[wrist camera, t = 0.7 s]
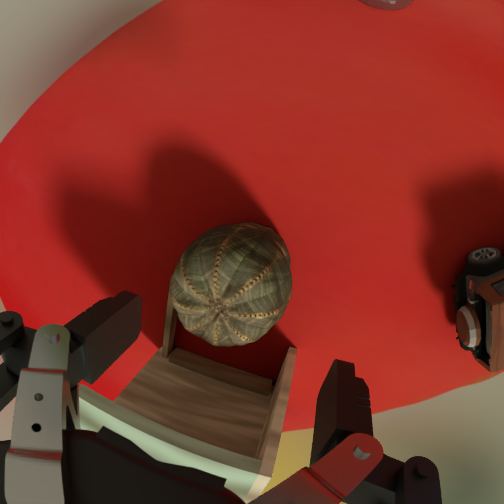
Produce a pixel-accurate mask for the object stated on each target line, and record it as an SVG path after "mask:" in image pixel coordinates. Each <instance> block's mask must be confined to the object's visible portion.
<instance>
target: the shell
mask: <svg viewBox="0 0 504 504" xmlns="http://www.w3.org/2000/svg"><path fill="white" fill-rule="evenodd" d="M290 263H291V260H290V255H289V252H288V249H287V247H286V245H285V243H284V241H283V239H282V238H281V237H279V236H278V235H277V234H276V233H275V232H274V230H273V229H272V228H270V227H269V226H267V227H265V226H262V225H260V224H258V223H255V222H248V223H238V224H234V225H221V226H217V227H215V228H213V229H210V230H208V231H206V232H205V233H203V234H202V235H201V236H200V237H198V238H197V239H196V240H195V241H194V242H193V243H191V244H190V245H189V246H188V247H187V249H186V250H185V251H184V253H183V254H182V255H181V257H180V259H179V261H178V264H177V266H176V267H175V270H174V273H173V275H172V278H171V288H170V291H169V294H170V297H171V300H172V304H173V307H174V308H175V309H176V310H177V314H178V317H179V319H180V321H181V323H182V324H183V326H184V328H185V329H186V330H187V331H189V332H190V333H192V334H193V335H195V336H198V337H201V338H202V339H204V340H205V341H206V342H208V343H209V344H211V345H213V346H235V345H246V344H248V343H251V342H254V341H257V340H258V339H260V337H261V336H262V335H264V334H266V333H267V332H268V331H269V330H270V328H271V327H272V326H273V325H274V324H276V323H277V321H278V320H279V319H280V318H281V317H282V315H283V313H284V311H285V309H286V307H287V304H288V302H289V300H290V298H291V291H292V275H291V270H290Z"/></svg>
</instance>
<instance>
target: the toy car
mask: <svg viewBox="0 0 504 504" xmlns="http://www.w3.org/2000/svg"><path fill="white" fill-rule="evenodd" d="M467 258H468V264H466V267H465V271H464V272H462V273H460V274H459V275H458V276H457V278H456V280H455V284H454V285H451V286H452V287H455V295H454V304H455V318H456V332H457V333H458V337H457V338H456V339H459V342H460V346H461V347H462V348H463V349H464V350H470V351H471V352H472V355H473V357H474V358H475V360H477V362H478V363H480V364H481V365H482V366H483V367H485V368H486V369H487V370H488V371H490V372H497V371H499V370H502V369H504V256H503V257H502V258H501V252H500V249H497V248H495V247H484V248H480V249H477V250H475V251H472V252H470V253H469V255H468V257H467ZM452 287H451V288H452Z"/></svg>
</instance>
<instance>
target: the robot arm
mask: <svg viewBox="0 0 504 504" xmlns="http://www.w3.org/2000/svg"><path fill="white" fill-rule="evenodd" d="M360 1H362V2H364V3H366V4H368V5H370V6H373V7H376V8H381V9H389V10H393V9H400V8H404V7H406V6H407V5H409V4H410V3H411V2H412V1H413V0H360ZM141 313H142V298H141V297H140V296H138V295H136V294H133V293H131V292H128V291H126V290H124V291H122V292H121V293H119V294H118V295H116V296H115V297H114V298H112V297H109V298H106V299H102V300H100V301H98V302H97V303H95V304H94V305H92V307H89V308H88V309H87V310H86V311H85V312H82V313H81V314H80V315H78V316H77V317H75V318H74V319H72V320H71V321H70V322H68V323H67V324H66V325H64V326H61V325H58V324H48V325H45V326H42V327H41V328H39V329H38V330H35V329H32V328H29V327H25V326H24V324H23V319H22V316H21V315H20V314H19V313H17V312H14V311H5V312H1V313H0V355H2V358H3V361H4V362H3V363H2V364H1V365H0V411H1V410H2V409H3V408H4V407H5V406H6V405H7V404H8V403H9V402H10V401H11V400H12V399H13V398H14V397H15V396H16V401H15V409H14V416H13V425H12V436H11V440H6V441H0V504H246V503H245V502H244V501H243V500H242V499H241V498H240V497H239V496H238V495H237V494H235V493H234V492H232V491H231V490H229V489H227V488H226V487H224V485H225V482H226V480H227V479H226V478H223V477H220V476H216V475H213V474H211V473H208V472H205V471H202V470H199V469H196V468H193V467H187V466H181V465H176V464H171V463H166V462H161V461H158V460H156V459H154V458H153V457H151V456H150V455H149V454H148V453H146V452H145V451H144V450H142V449H141V448H140V447H138V446H137V445H136V444H135V443H133V442H132V441H131V440H129V439H127V438H125V437H123V436H122V435H120V434H118V433H116V432H114V431H112V430H110V429H108V428H107V427H105V426H102V428H101V429H100V430H99V431H98V432H95V431H90V430H83V429H81V427H80V414H79V385H78V383H79V382H80V381H81V380H82V379H83V380H84V381H86V382H88V383H89V384H91V385H92V384H93V383H94V382H95V381H96V380H97V379H98V378H99V377H100V376H101V375H102V374H103V373H104V372H105V371H106V370H107V369H108V368H109V367H110V366H111V365H112V364H113V363H114V362H115V361H116V360H117V359H118V358H119V357H120V356H121V355H122V354H123V353H124V352H125V351H126V350H127V349H128V348H129V347H130V346H131V345H132V344H133V343H134V342H135V341H136V339H137V338H138V336H139V333H140V330H141ZM369 399H370V396H369V388H368V386H367V385H366V383H365V381H364V380H363V379H362V378H358V377H355V367H354V363H350V362H346V361H342V360H338V359H335V360H334V362H333V363H332V366H331V368H330V370H329V372H328V374H327V376H326V378H325V380H324V382H323V384H322V386H321V389H320V391H319V395H318V398H317V405H316V416H315V425H314V434H313V443H312V451H311V459H310V467H309V468H308V467H304V468H302V469H301V470H299V471H297V472H296V473H295V474H293V475H292V476H290V477H289V478H287V479H286V480H284V481H283V482H281V483H280V484H278V485H277V486H275V487H274V488H272V489H270V490H269V491H268V492H266V493H264V494H263V495H261V496H259V497H257V498H256V499H254V500H252V501H251V502H249V503H247V504H339V503H340V502H341V501H342V502H345V503H347V504H442V499H441V489H440V480H439V473H438V469H437V467H436V466H435V464H434V463H433V462H432V461H431V460H429V459H427V458H425V457H422V456H415V457H411V458H410V459H408V460H407V461H406V462H405V463H404V462H401V461H399V460H396V459H394V458H391V457H389V456H387V455H385V454H384V453H383V448H382V446H381V444H380V442H379V441H378V440H377V439H375V438H374V437H373V427H372V415H371V408H370V406H371V405H370V400H369Z"/></svg>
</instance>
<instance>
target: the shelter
mask: <svg viewBox="0 0 504 504" xmlns="http://www.w3.org/2000/svg"><path fill="white" fill-rule="evenodd" d="M172 275H173V274H172ZM172 275H171V278H172ZM170 288H171V280H170V287H169V291H170ZM177 315H178V314H177V310H176V309H175V308H174V307H173V304H172V300H171V297H170V294H169V295H168V302H167V311H166V319H165V328H164V337H163V347H161V348H160V349H159V350H158V351H157V352H156V353H155V354H154V356H153V357H152V358H151V359H150V360H149V361H148V362H147V364H146V365H145V366H144V367H143V368H142V369H141V370H140V372H139V373H138V374H137V375H136V376H135V377H134V378H133V379H132V381H131V382H130V383H129V384H128V385H127V386H126V387H125V389H124V390H123V391H122V392H121V393H120V394H119V395H118V397H117V398H116V399H115V400H114V401H111V400H109V399H107V398H106V397H104V396H102V395H100V394H98V393H97V392H95V391H93V390H91V389H90V388H88V387H86V386H85V385H83V384H81V385H80V386H79V414H80V427H81V429H83V430H90V431H95V432H98V431H99V430H100V429H101V428H102V426H105V427H107V428H108V429H110V430H112V431H114V432H116V433H118V434H120V435H122V436H123V437H125V438H127V439H129V440H131V441H132V442H133V443H135V444H136V445H137V446H138V447H140V448H141V449H142V450H144V451H145V452H146V453H148V454H149V455H150V456H151V457H153V458H154V459H156V460H158V461H161V462H166V463H171V464H176V465H181V466H187V467H193V468H196V469H199V470H202V471H205V472H208V473H211V474H213V475H216V476H220V477H223V478H226V479H227V480H226V482H225V485H224V487H226V488H227V489H229V490H231V491H232V492H234V493H235V494H237V495H238V496H239V497H240V498H241V499H242V500H243V501H244V502H245V503H246V504H247V503H249V502H251V501H252V500H254V499H256V498H257V497H259V496H260V494H261V493H262V491H263V490H264V488H265V486H266V485H267V484H268V482H269V481H270V479H271V477H272V473H273V469H274V464H275V460H276V455H277V451H278V446H279V441H280V436H281V432H282V427H283V423H284V418H285V413H286V408H287V402H288V397H289V392H290V387H291V381H292V376H293V370H294V364H295V358H296V352H297V349H296V348H293V347H289V349H288V352H287V355H286V357H285V360H284V363H283V365H282V368H281V370H280V373H279V376H278V378H277V381H276V383H275V386H273V385H272V381H273V380H272V379H269V378H265V377H262V376H259V375H255V374H252V373H249V372H246V371H243V370H240V369H237V368H234V367H231V366H228V365H225V364H222V363H219V362H216V361H213V360H211V359H208V358H205V357H202V356H200V355H197V354H194V353H192V352H189V351H186V350H184V349H181V348H179V347H176V348H175V349H174V351H173V345H174V337H175V330H176V322H177Z"/></svg>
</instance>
